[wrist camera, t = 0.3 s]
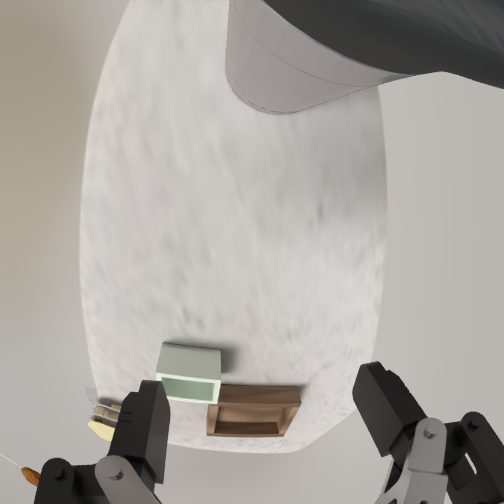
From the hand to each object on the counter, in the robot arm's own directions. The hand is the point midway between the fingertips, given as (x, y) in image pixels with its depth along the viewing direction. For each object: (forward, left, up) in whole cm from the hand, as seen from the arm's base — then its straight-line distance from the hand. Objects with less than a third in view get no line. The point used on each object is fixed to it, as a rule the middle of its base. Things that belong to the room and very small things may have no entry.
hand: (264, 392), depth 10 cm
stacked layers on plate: (+31, -15, -19) cm, 40 cm away
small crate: (+16, -3, -18) cm, 25 cm away
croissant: (+120, -74, -18) cm, 142 cm away
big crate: (+25, +6, -18) cm, 32 cm away
